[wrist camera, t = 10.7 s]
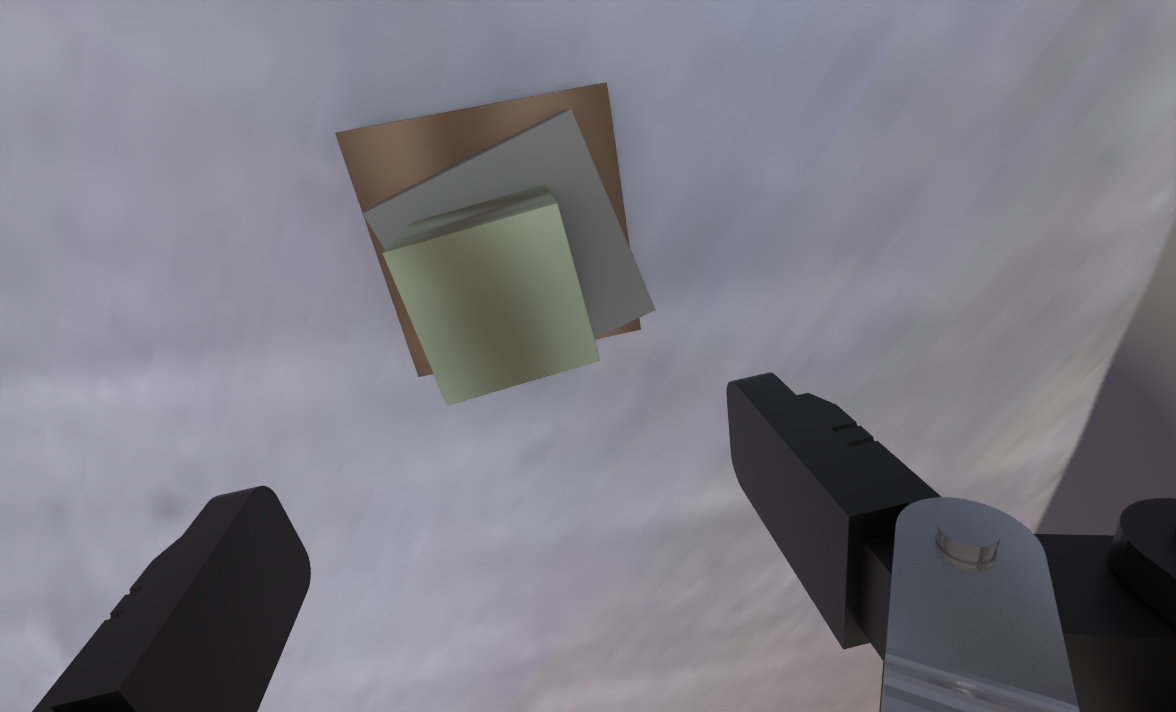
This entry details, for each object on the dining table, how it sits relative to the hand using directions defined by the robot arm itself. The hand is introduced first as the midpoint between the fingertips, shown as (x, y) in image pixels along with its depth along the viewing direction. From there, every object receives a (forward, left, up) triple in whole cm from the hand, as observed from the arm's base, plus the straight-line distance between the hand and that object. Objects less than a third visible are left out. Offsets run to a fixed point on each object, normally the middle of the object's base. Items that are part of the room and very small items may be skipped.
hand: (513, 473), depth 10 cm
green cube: (0, 0, -14) cm, 14 cm away
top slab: (0, 0, -18) cm, 18 cm away
